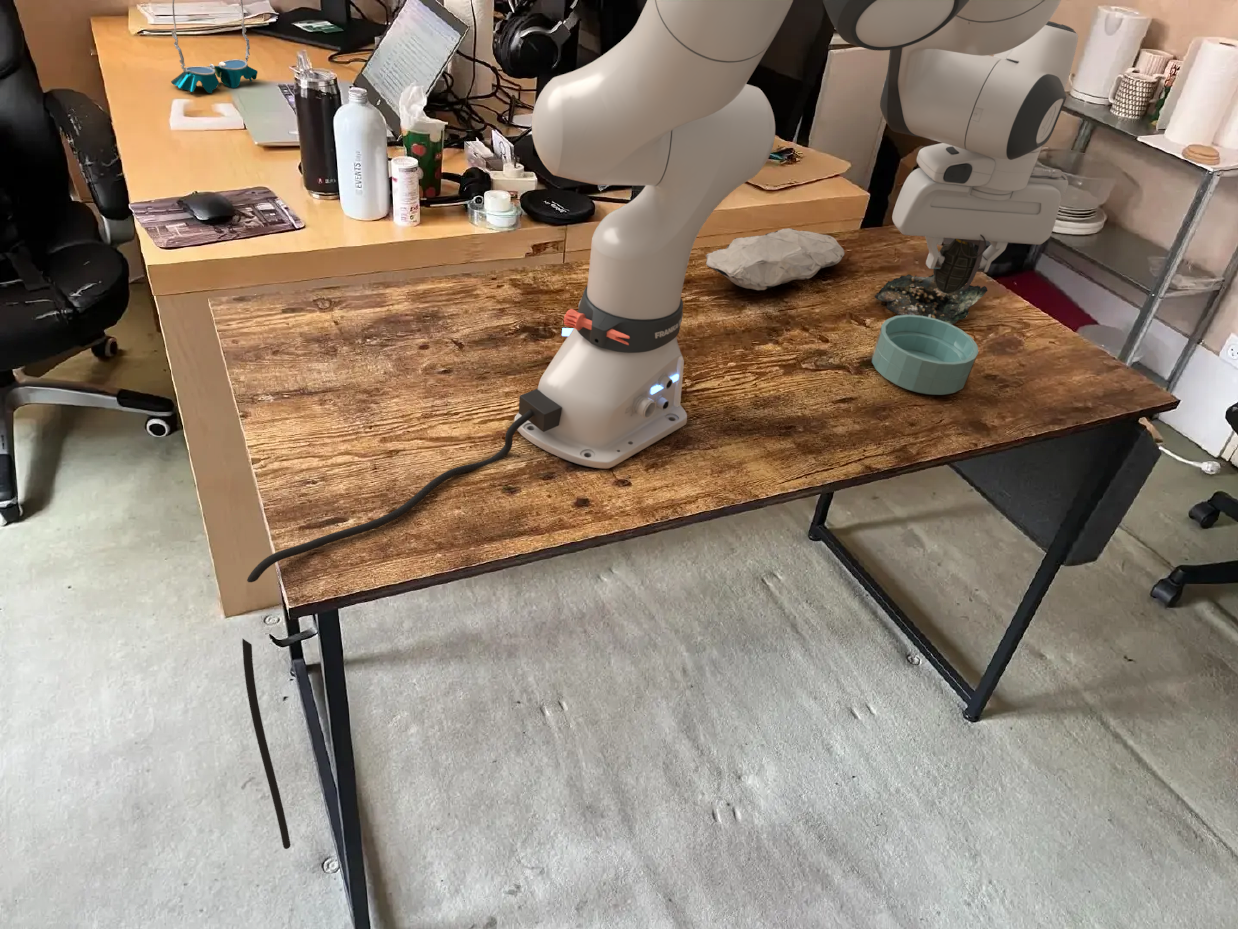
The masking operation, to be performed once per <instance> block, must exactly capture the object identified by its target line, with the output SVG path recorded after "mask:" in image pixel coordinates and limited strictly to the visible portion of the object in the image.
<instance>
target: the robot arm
mask: <svg viewBox="0 0 1238 929" xmlns="http://www.w3.org/2000/svg"><path fill="white" fill-rule="evenodd" d="M793 2H794V0H646V3H645V4H644V7H643V8H642V11H641V13H640V16H639V17H638V19H637V21H636V23H635V25H634V26H633V28H632V29H631V31H629V33H628V34H627V35H626V36H625V37H624V38H623V39H621V41H620V42H618V43H617V44H616V45H614V46H613V47H612V48H610V49H609V50H608V51H607V52H605V53H603V55H601V56H600V57H597V58H596V59H595V60H593V61H592V62H589V63H587V64H586V65H583V66H581V67H580V68H577V69H575V70H573V71H569V72H566V73H564V74H560V75H557V76H554V77H552V78H551V79H550V81H548V82H547V84H545V85H544V87H543V89H541V92H540V93H539V95H538V97H537V99H536V102H535V104H534V107H533V111H532V117H531V138H532V141H533V145H534V149H535V151H536V153H537V155H538V157H539V159H540V161H541V163H542V164H543V166H544V167H545V168H546V169H547V170H548V172H550V174H551V175H553V176H554V177H555V176H556V177H558V178H559V177H560V178H564V179H568V180H572V181H576V182H581V183H586V184H590V185H596V186H644V187H643V189H642V190H641V191H640V192H639V194H637V195H636V197H635V198H633V199H632V200H630V201H629V202H627V203H626V204H624V205H622V206H620V207H618V208H616V209H614V210H612V211H611V212H609V213H608V214H607V215H606V216H604V217H603V218H602V220H601V221H600V222H599V223H598V225H597V227H596V228H595V229H594V232H593V234H592V236H591V245H590V255H589V267H588V277H587V285H586V286H585V288H584V290H583V293H582V296H581V298H580V300H579V302H578V306H577V307H578V309H577V310H575V309H573V308H569V309H568V310H566V313H565V315H564V317H563V324H564V326H565V327H562V328H561V329H562V330H561V336H562V337H566V338H565V340H564V341H563V343H562V344H561V345H560V347H559V349H558V350H557V352H556V354H555V355H554V356H553V358H552V359H551V361H550V363H549V364H548V366H547V367H546V369H545V371H544V372H543V374H542V375H541V377H540V379H539V382H538V386H537V388H535V389H532V390H530V391H528V392H525V393H523V394H520V395H519V400H518V412H517V413H516V415H515V416H514V420H513V422H512V424H511V425H510V426H509V427H508V429H507V431H506V432H505V435H504V436H505V437H504V444H503V447H502V448H501V449H500V450H499V451H497V453H496V454H495V455H493V456H491V457H489V458H487V459H485V460H482V461H478V462H473V463H468V464H465V465H460V466H457V467H454V468H451V469H448V470H447V471H445V472H442V473H440V475H438V476H436V477H435V478H433V479H432V480H431V481H429V482H428V483H427V484H426V485H424V487H422V488H421V489H420V490H418V492H417V493H416V494H414V495H413V497H411V498H410V499H409V500H407V501H405V503H404V504H402V505H401V506H399V507H397V508H396V509H394V510H392V511H390V512H389V513H387V514H385V515H382V516H381V517H378V518H375V519H373V520H371V521H367V522H365V523H362V524H359V525H355V526H352V527H349V528H345V529H342V530H338V531H335V532H332V533H329V534H325V535H323V536H320V537H318V538H315V539H313V540H310V541H307V542H304V543H302V544H298V545H295V546H291V547H288V548H285V549H281V550H279V551H277V552H274V553H272V554H270V555H269V556H267V557H265V558H264V559H262V560H261V561H260V562H258V564H257V565H256V566H255V567H254V568H253V569H252V570H251V572H250V574H249V575H248V577H247V579H246V581H247V583H255V582H256V581H258V580H259V578H260V577H261V576H262V575H263V573H264V572H265V571H266V570H268V568H270V567H271V566H273V565H274V564H276V563H278V562H279V561H282V560H285V559H288V558H291V557H295V556H298V555H301V554H304V553H307V552H310V551H312V550H314V549H318V548H320V547H323V546H325V545H328V544H331V543H334V542H336V541H340V540H343V539H347V538H350V537H354V536H356V535H360V534H363V533H366V532H370V531H373V530H375V529H378V528H381V527H382V526H385V525H387V524H389V523H391V522H393V521H395V520H397V519H398V518H400V517H402V516H403V515H405V514H406V513H408V512H409V511H411V510H412V509H414V507H416V506H417V505H418V504H419V503H420V502H422V501H423V499H424V498H426V497H427V496H428V495H430V493H432V491H434V490H435V489H436V488H437V487H439V486H440V485H441V484H443V483H445V482H446V481H448V480H449V479H452V478H453V477H456V476H459V475H462V474H466V473H470V472H472V471H475V470H478V469H480V468H483V467H484V466H487V465H489V464H493V463H495V462H498V461H501V459H503V458H505V457H506V456H507V454H509V452H510V451H511V450H512V447H513V438H514V435H515V433H516V432H518V433H519V434H520V435H521V436H522V437H523V438H524V439H525V440H527V441H528V442H530V443H531V444H533V445H534V446H536V447H538V448H539V449H541V450H543V451H546V452H548V453H549V454H551V455H554V456H557V457H558V458H560V459H562V460H565V461H568V462H571V463H574V464H577V465H580V466H583V467H589V468H596V469H610V468H614V467H616V466H617V465H619V464H621V463H622V462H624V461H626V460H627V459H629V458H631V457H633V456H634V455H636V454H638V453H639V452H641V451H642V450H644V449H646V448H648V447H650V446H651V445H653V444H655V443H656V442H658V441H660V440H662V439H663V438H666V437H667V436H668V435H670V434H672V433H674V432H675V431H678V430H679V429H681V428H683V427H684V426H686V425H687V423H688V413H687V411H686V410H685V409H684V408H683V406H682V405H681V399H682V388H683V381H684V380H683V378H684V366H685V360H684V356H683V353H682V351H681V349H680V345H679V342H678V338H677V336H678V335H679V333H680V330H681V324H682V321H683V316H684V311H683V310H684V301H683V298H682V293H683V290H684V289H683V288H684V284H685V278H686V273H687V269H688V265H689V262H690V257H691V253H692V249H693V247H694V244H695V241H696V240H697V238H698V235H699V233H700V231H701V229H702V228H703V226H704V224H705V223H706V222H707V220H708V219H709V217H710V216H711V215H712V213H713V212H715V210H716V208H717V207H719V205H720V204H721V203H722V202H723V201H724V200H725V199H726V198H727V197H728V196H730V194H732V192H734V191H735V190H736V189H738V188H739V187H741V186H742V185H744V184H745V183H746V182H748V181H750V180H752V179H754V178H755V177H756V175H758V174H759V173H760V172H761V170H762V169H763V168H764V166H765V165H766V164H767V162H768V160H769V158H770V156H771V153H772V150H773V149H774V148H773V147H774V143H775V140H776V139H775V138H776V121H775V120H776V119H775V114H774V112H773V109H772V106H771V103H770V101H769V99H768V98H767V96H766V94H765V93H764V92H763V90H761V88H759V87H758V86H754V85H752V84H747V83H748V81H749V80H750V78H751V76H752V75H753V73H754V72H755V70H756V68H757V67H758V65H759V64H760V62H761V60H762V58H763V57H764V55H765V54H766V51H767V50H768V49H769V47H770V46H771V44H772V42H773V41H774V38H775V37H776V36H777V34H778V32H779V30H780V28H781V26H782V24H783V22H784V21H785V19H786V17H787V15H788V13H789V11H790V8H791V6H792V5H793ZM1061 2H1062V0H822V3H823V6H824V8H825V10H826V14H827V16H828V18H829V19H830V22H831V24H832V26H833V28H834V29H835V31H836V32H837V34H838V35H839V37H840V38H841V39H842V40H843V41H844V42H845V43H847V44H849V45H851V46H855V47H859V48H861V49H862V48H863V49H866V50H870V51H876V52H877V51H878V52H879V51H880V52H882V51H889V55H888V64H887V71H886V76H885V78H884V81H883V85H882V87H881V88H882V89H881V92H880V93H881V94H880V95H881V96H880V102H879V108H880V112H881V115H882V116H883V119H884V120H885V122H886V124H887V126H888V127H889V129H890V130H891V131H892V132H894V133H898V134H903V135H908V136H912V137H917V138H918V137H921V138H924V139H928V140H931V141H935V142H938V143H937V144H931V145H927V146H924V147H922V148H920V149H919V151H918V153H917V156H916V164H917V165H918V168H916V169H914V170H912V171H911V172H910V173H909V174H908V176H907V177H906V179H905V181H904V182H903V185H902V187H901V189H900V192H899V194H898V196H897V199H896V202H895V206H894V208H893V210H892V214H891V215H892V216H891V218H892V222H893V225H894V226H895V228H896V229H897V231H898V232H899V233H900V234H901V235H903V236H911V237H912V236H914V237H925V238H924V239H925V241H926V246H927V249H928V255H927V257H926V260H925V265H926V266H927V268H928V269H931V270H934V269H941V268H942V263H943V262H944V259H945V257H944V256H943V255H942V254H941V252H939V248H938V246H941V245H943V242H944V240H945V239H953V240H954V239H967V240H982V241H984V240H983V238H982V237H981V236H980V235H982V236H984V238H985V240H986V242H989V246H988V247H986V249H985V251H984V252H983V255H982V260H981V262H980V265H979V267H978V270H977V272H976V273H988V271H989V269H990V266H991V264H992V262H993V261H995V260H996V259H997V258H998V257H999V256H1001V254H1002V253H1003V252H1005V251H1006V249H1007V246H1008V244H1009V243H1010V244H1022V245H1023V244H1024V245H1025V244H1026V245H1036V246H1037V245H1038V246H1040V245H1043V243H1045V242H1046V241H1048V240H1049V239H1050V238H1051V236H1052V233H1053V230H1054V227H1055V224H1056V221H1057V218H1058V215H1059V214H1058V213H1059V210H1060V207H1061V203H1062V202H1061V201H1062V200H1063V198H1064V196H1065V194H1066V191H1067V189H1068V188H1069V180H1068V179H1069V178H1068V177H1067V175H1066V174H1065V173H1063V171H1062V170H1061V169H1059V168H1044V167H1036V163H1037V161H1038V158H1039V155H1040V153H1041V151H1042V148H1043V146H1044V145H1045V144H1046V143H1047V142H1048V141H1049V140H1050V138H1051V136H1052V134H1053V133H1054V130H1055V127H1056V125H1057V123H1058V120H1059V118H1060V115H1061V113H1062V110H1063V108H1064V105H1065V102H1066V100H1067V93H1066V91H1065V89H1066V86H1067V83H1068V80H1069V77H1070V74H1071V71H1072V67H1073V63H1074V60H1075V55H1076V51H1077V47H1078V42H1079V41H1078V40H1079V35H1078V32H1076V31H1075V29H1074V28H1072V27H1070V26H1068V25H1066V24H1064V23H1063V24H1060V23H1057V22H1054V21H1050V20H1051V19H1052V17H1054V15H1055V13H1056V11H1057V10H1058V8H1059V6H1060V4H1061ZM241 641H242V642H241V644H242V645H241V646H242V660H243V672H244V678H245V687H246V693H247V700H248V706H249V709H250V715H251V719H252V724H253V728H254V733H255V736H256V742H257V745H258V748H259V752H260V756H261V760H262V761H261V762H262V764H263V767H264V772H265V775H266V780H267V782H268V787H269V791H270V794H271V798H272V802H273V806H274V809H275V814H276V818H277V824H278V828H279V831H280V837H281V842H282V847H283V849H284V850H288V849H290V848H291V845H292V844H291V839H290V834H289V830H288V829H289V828H288V824H287V820H286V816H285V812H284V807H283V806H284V805H283V802H282V798H281V795H280V790H279V789H280V788H279V786H278V782H277V777H276V774H275V770H274V766H273V762H272V758H271V755H270V750H269V746H268V742H267V737H266V734H265V729H264V724H263V720H262V715H261V709H260V705H259V701H258V699H259V698H258V693H257V688H256V681H255V672H254V670H255V669H254V661H253V644H252V643H250V642H249V641H247V640H246V639H244V638H242V640H241Z"/></svg>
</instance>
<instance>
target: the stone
mask: <svg viewBox="0 0 1238 929" xmlns="http://www.w3.org/2000/svg"><path fill="white" fill-rule="evenodd" d="M844 256H845V249H844V248H843V247H842V246H841V245H840V243H839V242H838V241H837V239H836V238H835V237H833V236H832V235H828V234H821V233H818V232H814V231H809V230H797V229H794V228H791V227H790V228H789V227H788V228H781V229H778V230H775V231H772V232H767V233H765V234H764V235H751V236H743V237H734V238H733V240H732V241H731V242H730V243H729V244H728V245H726V248H723V249H722V248H719V249H717V250H714V251H712V252H708V253H707V254H705V257H706V261H705V265H706V266H707V268H709V269H711V270H713V271H715V272H717V273H719V274H721V275H722V276H723V277H725V278H726V279H728V280H729V281H730V282H731V283H733V285H735V286H737V287H740V288H744V289H751V290H754V291H765V290H767V289H771V288H774V287H777V286H780V285H781V284H782V285H783V284H787V283H789V282H792V281H797V280H810V279H811V278H812V277H814V276H815V275H816V274H817V273H818V272H819V271H820V270H821V269H824V268H829V267H833V266H834V265H837V264H839V263H840V262H841V261H842V259H843V257H844Z"/></svg>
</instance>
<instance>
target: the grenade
mask: <svg viewBox="0 0 1238 929" xmlns="http://www.w3.org/2000/svg"><path fill="white" fill-rule="evenodd" d="M980 236H981V237H982V238H983V240H984V241H982V240H967V239H953V240H952V241H951V242H949V243H944V244H942V247H941V248H940V250H938V252H941V254H942V255H943V256H944V257H945V259H944V262H943V263H942V268H941V269H932V270H933V274H934V280H935V283H936V285H937V286H938V288H939V289H940V291H941V292H943V293H947V294H949V293H952V292H955V291H958V290H959V289H961V288H962V287H963V286H964V285H965V286H964V288H963V290H964V289H967V288H968V287H969V285H971V284H972V282H973V280H974V279H975V277H976V276H977V273H978V272H977V270H978V267H979V265H980V262H981V260H982V255H983V252H984V251H985V250H986V249H987V241H986V240H985V238H984V236H982V235H980ZM974 245H975V246H977V247H978V251H975V249H974Z"/></svg>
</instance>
